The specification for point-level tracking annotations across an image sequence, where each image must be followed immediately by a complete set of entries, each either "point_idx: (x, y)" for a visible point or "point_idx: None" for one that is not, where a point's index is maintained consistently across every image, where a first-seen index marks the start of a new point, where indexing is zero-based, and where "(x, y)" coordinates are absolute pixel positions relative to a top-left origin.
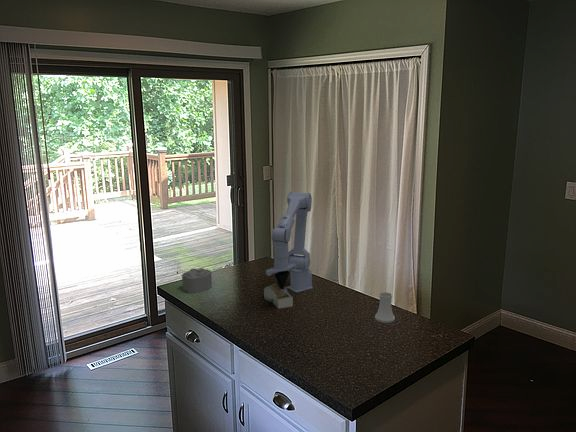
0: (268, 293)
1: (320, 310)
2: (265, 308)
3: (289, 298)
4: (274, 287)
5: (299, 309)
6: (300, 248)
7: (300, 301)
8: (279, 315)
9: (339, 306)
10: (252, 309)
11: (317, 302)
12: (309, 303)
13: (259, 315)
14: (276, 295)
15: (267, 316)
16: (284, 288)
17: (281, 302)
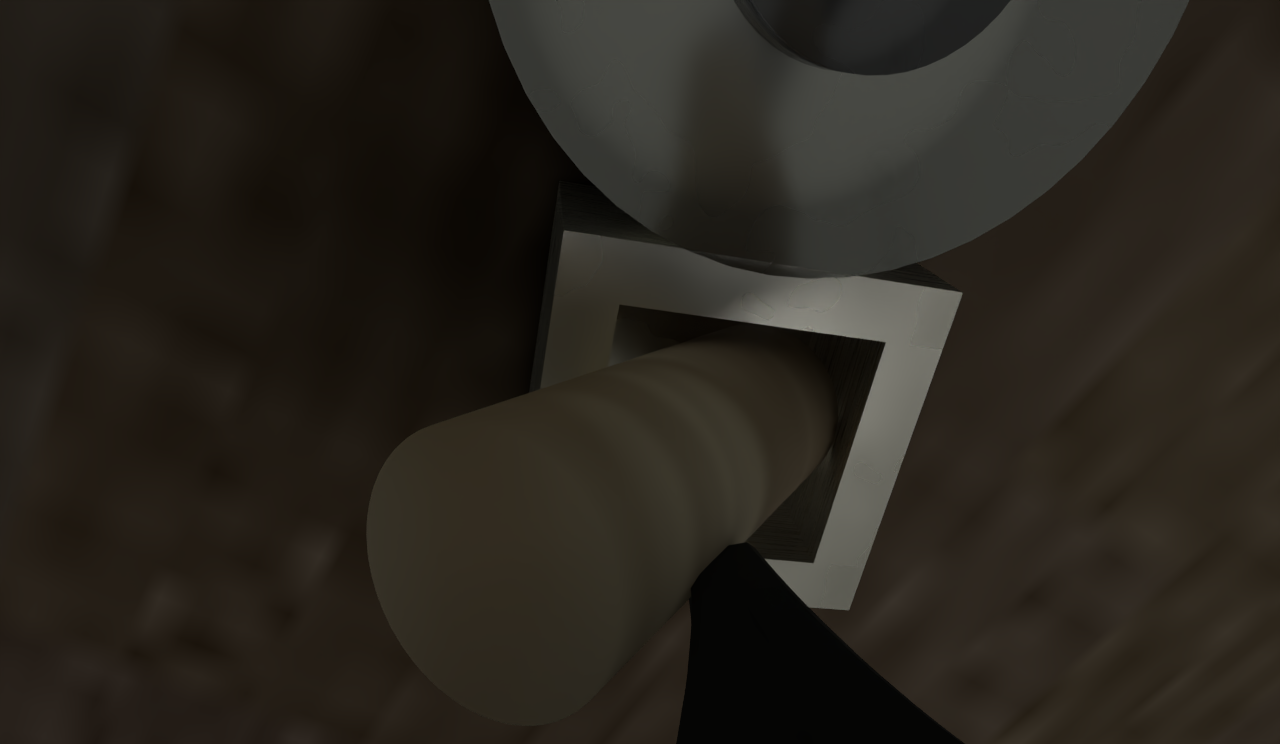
0: (509, 52)
1: (1000, 737)
2: (315, 298)
3: None
4: (455, 675)
5: None
6: None
7: (1043, 361)
8: None
9: (1260, 739)
10: (20, 197)
11: (1192, 524)
12: (1080, 498)
13: (91, 506)
14: (604, 361)
15: (220, 595)
16: (1097, 26)
17: None
